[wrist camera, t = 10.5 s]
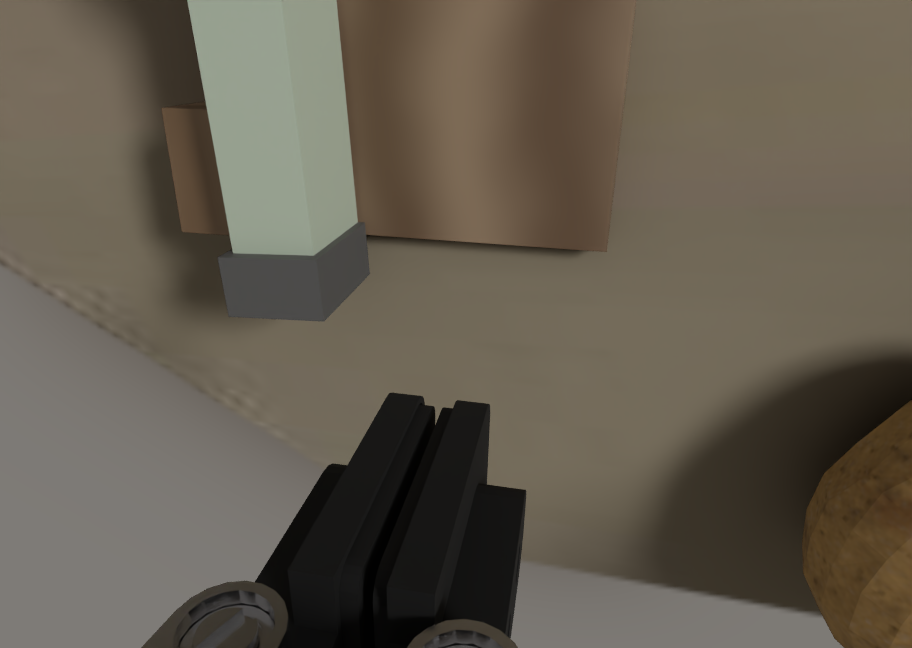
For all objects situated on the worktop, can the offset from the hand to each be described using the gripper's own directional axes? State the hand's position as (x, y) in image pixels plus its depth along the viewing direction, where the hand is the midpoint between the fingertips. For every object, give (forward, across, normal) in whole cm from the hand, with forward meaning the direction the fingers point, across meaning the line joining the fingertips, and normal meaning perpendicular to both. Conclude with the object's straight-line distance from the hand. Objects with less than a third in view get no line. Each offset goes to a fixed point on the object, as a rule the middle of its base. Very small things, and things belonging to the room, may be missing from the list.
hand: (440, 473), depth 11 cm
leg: (+15, +9, -6) cm, 18 cm away
